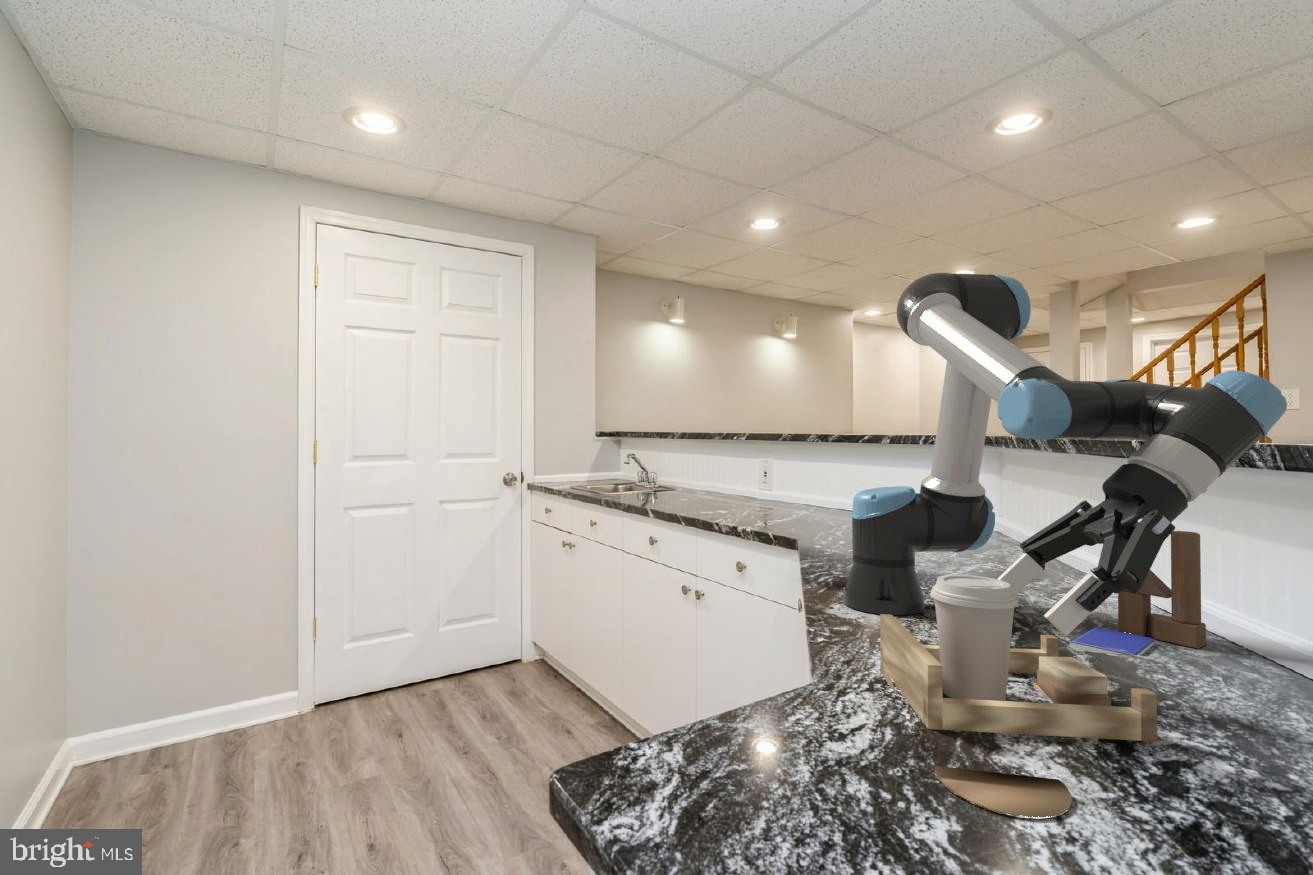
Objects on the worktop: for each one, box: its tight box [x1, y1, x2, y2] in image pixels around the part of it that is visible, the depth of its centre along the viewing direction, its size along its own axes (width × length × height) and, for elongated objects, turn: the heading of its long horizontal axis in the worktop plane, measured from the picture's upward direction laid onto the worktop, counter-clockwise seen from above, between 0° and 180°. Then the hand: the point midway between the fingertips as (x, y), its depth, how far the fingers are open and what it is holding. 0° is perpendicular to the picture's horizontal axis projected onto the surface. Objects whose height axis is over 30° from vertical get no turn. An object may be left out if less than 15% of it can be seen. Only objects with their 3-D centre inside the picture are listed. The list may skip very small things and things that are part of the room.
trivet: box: [934, 765, 1072, 817], centre depth 56 cm, size 11×11×1 cm
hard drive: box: [1069, 627, 1156, 656], centre depth 97 cm, size 2×8×12 cm
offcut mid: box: [1036, 669, 1112, 706], centre depth 73 cm, size 5×8×2 cm, turn 164°
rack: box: [879, 614, 1158, 743], centre depth 73 cm, size 22×20×8 cm
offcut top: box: [1039, 656, 1109, 695], centre depth 72 cm, size 4×6×2 cm, turn 176°
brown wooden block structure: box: [1117, 530, 1207, 649], centre depth 100 cm, size 4×11×18 cm, turn 32°
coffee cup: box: [930, 574, 1020, 701], centre depth 74 cm, size 10×10×15 cm
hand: (1022, 609), depth 72 cm, fingers open, 13 cm apart
